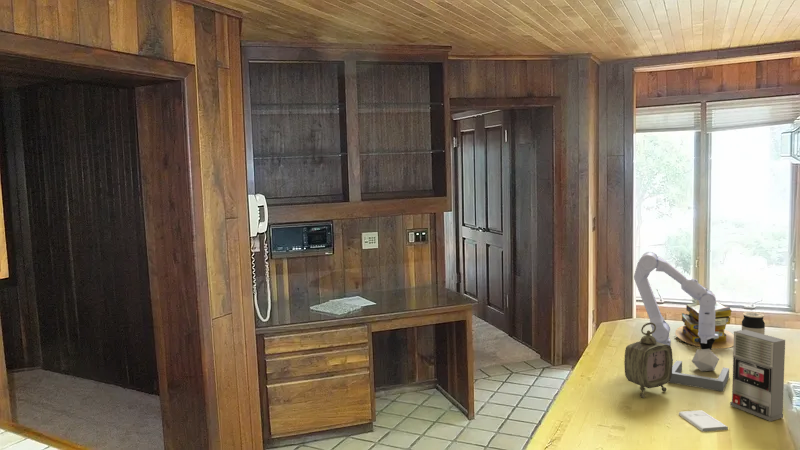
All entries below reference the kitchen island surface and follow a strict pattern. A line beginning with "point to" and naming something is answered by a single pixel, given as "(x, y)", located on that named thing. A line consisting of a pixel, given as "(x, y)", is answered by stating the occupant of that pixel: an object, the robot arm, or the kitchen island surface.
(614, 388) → the kitchen island surface
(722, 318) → the stack of yellow books
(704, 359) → the die
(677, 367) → the grey bracket
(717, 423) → the external hard drive
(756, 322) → the travel mug
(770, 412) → the cassette tape recorder
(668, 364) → the tabletop clock
